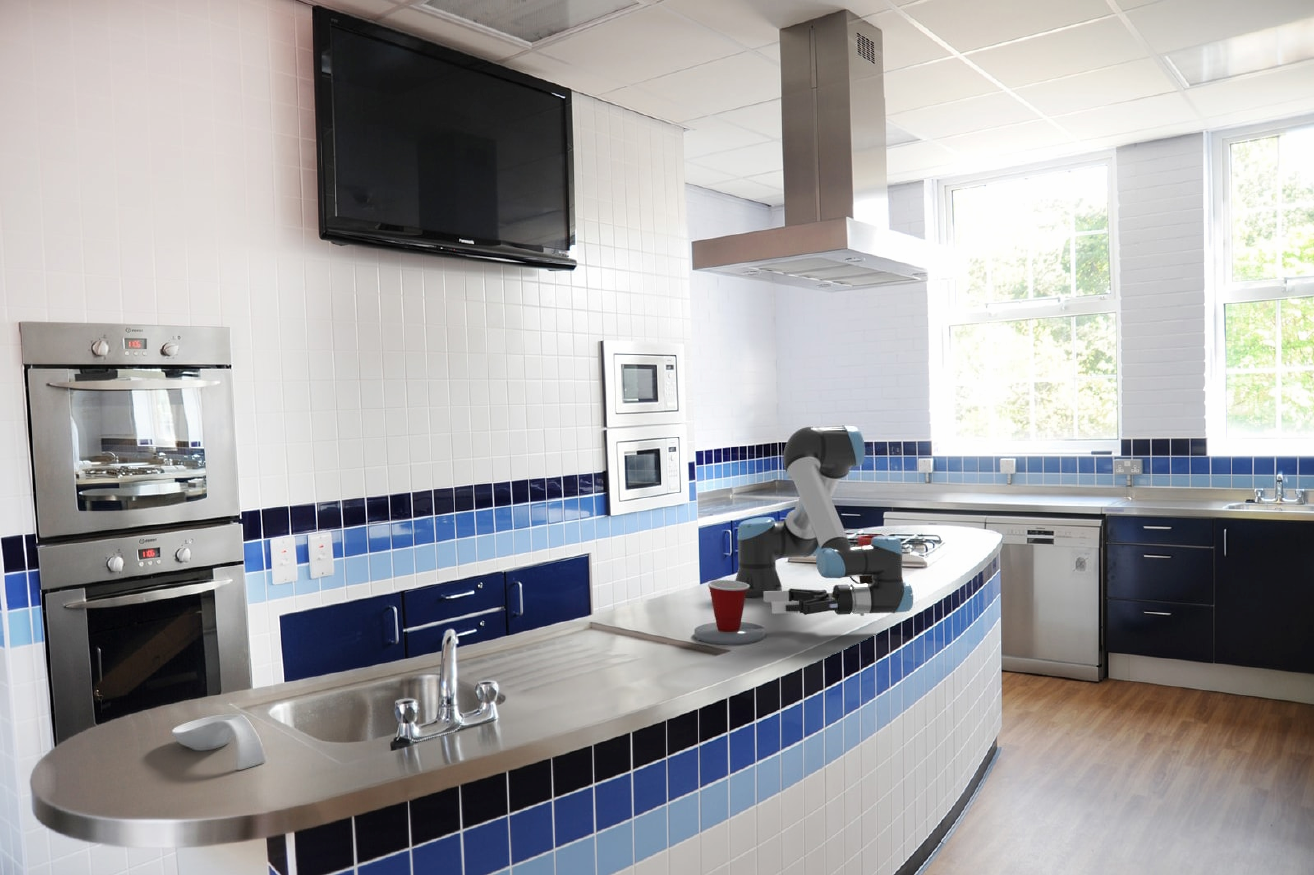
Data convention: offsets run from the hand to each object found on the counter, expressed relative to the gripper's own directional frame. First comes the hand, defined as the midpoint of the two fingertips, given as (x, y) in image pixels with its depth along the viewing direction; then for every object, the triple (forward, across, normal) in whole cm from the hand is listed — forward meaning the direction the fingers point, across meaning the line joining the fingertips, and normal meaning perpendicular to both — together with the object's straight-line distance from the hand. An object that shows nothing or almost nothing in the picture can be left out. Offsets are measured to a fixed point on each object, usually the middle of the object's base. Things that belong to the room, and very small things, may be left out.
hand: (767, 602), depth 228 cm
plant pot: (-52, +88, -9) cm, 102 cm away
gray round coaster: (+10, 0, -8) cm, 13 cm away
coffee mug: (-38, +46, -9) cm, 60 cm away
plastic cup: (+10, +1, -7) cm, 12 cm away
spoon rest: (+106, -69, -9) cm, 127 cm away
